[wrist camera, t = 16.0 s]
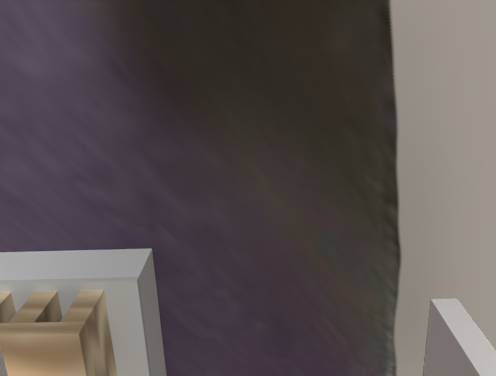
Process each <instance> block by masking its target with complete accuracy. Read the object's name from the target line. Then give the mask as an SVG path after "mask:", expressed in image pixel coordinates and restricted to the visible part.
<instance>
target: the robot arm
mask: <svg viewBox="0 0 496 376" xmlns="http://www.w3.org/2000/svg"><path fill="white" fill-rule="evenodd" d="M0 376H8V374H7V370H6V366H5V362H4V358H3V355H2V351H1V347H0ZM423 376H496V350H495V349H494V348H493V346H492V345H491V344H490V342H489V341H488V340H487V338H486V337H485V336H484V334H483V333H482V331H481V330H480V329H479V327H478V326H477V325H476V323H475V322H474V321H473V319H472V318H471V317H470V315H469V314H468V312H467V311H466V310H465V308H464V307H463V306H462V304H461V303H460V302H459V300H458V299H457V298H456V299H431V302H430V311H429V322H428V330H427V340H426V349H425V358H424V367H423Z"/></svg>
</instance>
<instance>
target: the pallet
mask: <svg viewBox="0 0 496 376" xmlns="http://www.w3.org/2000/svg"><path fill="white" fill-rule="evenodd" d="M0 347H1V351H2V355H3V358H4V362H5V366H6V370H7V374H8V376H117V370H116V364H115V357H114V351H113V345H112V338H111V332H110V326H109V319H108V313H107V306H106V300H105V294H104V290H81V291H80V292H79V294H78V295H77V297H76V298H75V300H74V301H73V303H72V304H71V306H70V307H69V309H68V310H67V312H66V313H65V315H64V316H63V317H62V312H61V307H60V301H59V296H58V291H34V292H33V294H32V295H31V296H30V297H29V298H28V300H27V301H26V302H25V303H24V305H23V306H22V307H21V308H20V309H19V311H18V312H17V313H16V310H15V306H14V302H13V297H12V293H11V292H0Z"/></svg>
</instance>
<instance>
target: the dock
mask: <svg viewBox="0 0 496 376" xmlns="http://www.w3.org/2000/svg"><path fill="white" fill-rule="evenodd" d="M81 290H104V294H105V300H106V306H107V313H108V319H109V326H110V332H111V338H112V345H113V351H114V357H115V364H116V370H117V376H167V375H166V366H165V358H164V349H163V340H162V332H161V323H160V314H159V305H158V297H157V288H156V279H155V271H154V262H153V253H152V249H114V250H75V251H36V252H0V292H11V293H12V297H13V302H14V306H15V310H16V313H17V312H18V311H19V309H20V308H21V307H22V306H23V305H24V303H25V302H26V301H27V300H28V298H29V297H30V296H31V295H32V294H33V292H34V291H58V296H59V301H60V307H61V312H62V317H63V316H64V315H65V313H66V312H67V310H68V309H69V307H70V306H71V304H72V303H73V301H74V300H75V298H76V297H77V295H78V294H79V292H80V291H81Z"/></svg>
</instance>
